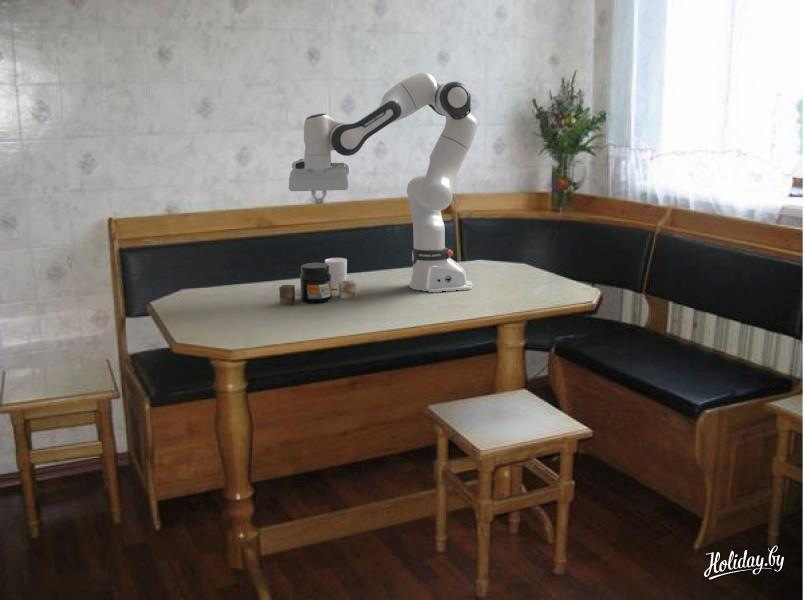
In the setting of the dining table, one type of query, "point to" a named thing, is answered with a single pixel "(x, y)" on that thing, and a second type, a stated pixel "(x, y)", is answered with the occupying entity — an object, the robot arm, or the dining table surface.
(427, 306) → the dining table surface
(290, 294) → the walnut block
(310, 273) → the supplement container
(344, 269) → the white cup
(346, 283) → the beech block
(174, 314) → the dining table surface
